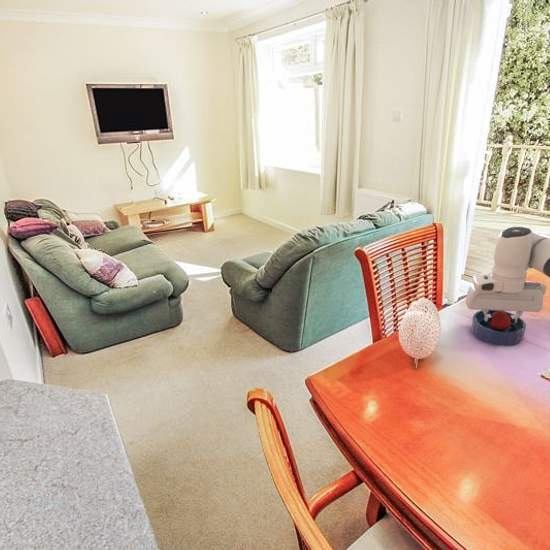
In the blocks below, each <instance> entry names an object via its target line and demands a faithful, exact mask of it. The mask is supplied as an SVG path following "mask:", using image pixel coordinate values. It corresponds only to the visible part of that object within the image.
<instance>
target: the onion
mask: <svg viewBox="0 0 550 550" xmlns="http://www.w3.org/2000/svg"><path fill="white" fill-rule="evenodd" d="M489 324H490V326H491V327H492V328H493V329H494V330H495V331H499V332H501V331H504V330H506V329H508V328H509V326H510V324H511V320H510V317H509V316H508V315H507V314H506V313H505V312H504V311H498V312H495V313H493V314H492V315H491V322H489Z"/></svg>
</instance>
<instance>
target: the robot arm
mask: <svg viewBox="0 0 550 550" xmlns="http://www.w3.org/2000/svg"><path fill="white" fill-rule="evenodd" d="M493 261H494V262H493V266H492V268H491V271H488V272H485V273H479V274H476V275H474V276H473V277H472V283H471V284H470V286H469V287H468V290H467V293H466V297H465V304H466V306H467V308H468V309H469V310H475V311H477V310H478V311H481V310H482V311H483V313H484V315H485V317H484V320H485V322H491V316H490V315H488V314H487V313H488V311H489V310H498V311H506V312H515V313H513V314H514V315H513V316H510V320H511V323H517V319H518V318H519V317H520V318H521V317H522V316H523V315H524V314H523V313H524V312H525V313H540V312H541V311H542V310H543V308H544V295H545V294H546V291H547V286H546V285H545V284H544V283H542V282H541V281H526V279H527V274H528V272H527V271H528V270H529V269H533V270H536V271H537V272H539V273H542V274H544V275H545V276H546V277H547V278H549V279H550V236H548V235H545V234H541V233H537V232H534V231H533V230H532V229H531V228H529V227H527V226H511V227H507V228H504V229H503V230H502V231H501V232H500V233H499V236H498V237H497V240H496V244H495V247H494V254H493Z"/></svg>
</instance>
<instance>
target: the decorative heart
mask: <svg viewBox="0 0 550 550" xmlns="http://www.w3.org/2000/svg"><path fill="white" fill-rule="evenodd" d="M402 317H403V318H402V320H401V322H400V324H399V327H398V340H399V344H400V346H401V348H402V350H403V351H404V353H405V354H407V356H409V357H411V358H413V359H414V364H415V369H417V368H418V360H421V359H425V358H427V357H429V356H430V355H432V353H433V352H434V351H435V350H436V348H437V346H438V344H439V340H440V335H441V318H440V313H439V310H438V308H437V306H436V304H434V302H432V300H429V299H427V298H420V299H417V300H416V301H414V302H413V303H412V304H411V305H410V306H409V307H408V308H407V310H406V311H405V313H404V315H403V316H402Z"/></svg>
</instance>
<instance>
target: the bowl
mask: <svg viewBox="0 0 550 550" xmlns="http://www.w3.org/2000/svg"><path fill="white" fill-rule="evenodd" d="M495 312H498V310H489V311H488V313H487V314H488V315H490V316H491V315H492V314H493V313H495ZM504 312H505V313H506V314H507V315H508V316H509V317H510V316H513V315H514V314H515V313H512V312H510V311H504ZM484 317H485V315H484V313H483V311H482V310H478V311H476V312H475V313H473V316H472V320H471V321H472V322H471V327H470V330H471V333H472V335H473V336H474V337H475V338H477V339H479V340H480V341H482V342H483V343H484V342H485V343H486V344H490V345H494V346H500V347H513V346H517V345H520V344H521V343H522V342H523V341H524V337H525V332H526V329H527V323H526V322H525V321H524V319H523V318H521V316H520V317H519V318H518V319H517V323H511V324H510V326H509V328H508V329H506V330H504V331H501V332H499V331H495V330H494V329H493V328H492V327H491V326H490V324H489V322H485V320H484Z"/></svg>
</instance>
